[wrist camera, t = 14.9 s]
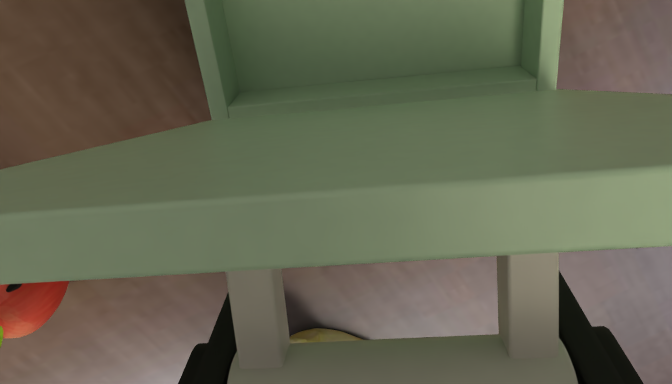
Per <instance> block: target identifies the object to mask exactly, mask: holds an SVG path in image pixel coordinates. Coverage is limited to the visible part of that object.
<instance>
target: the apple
mask: <svg viewBox="0 0 672 384" xmlns="http://www.w3.org/2000/svg"><path fill="white" fill-rule="evenodd" d="M68 284H69V281H55V282H38V283H21V284H3V285H0V347H1V343H2V339H3V338H17V337H22V336H25V335H28V334H30V333H32V332H34V331H36V330H37V329H38V328H40V327H41V326H42V325H43V324H44V323H45V322H46V321H47V320H48V319H49V318H50V317H51V316H52V315H53V313H54V312H55V310H56V309H57V308H58V306H59V304H60V303H61V301H62V299H63V297H64V295H65V292H66V290H67V287H68Z"/></svg>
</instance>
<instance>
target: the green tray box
mask: <svg viewBox="0 0 672 384" xmlns="http://www.w3.org/2000/svg"><path fill="white" fill-rule="evenodd" d="M563 4H564V0H185V5H186V9H187V13H188V18H189V22H190V26H191V31H192V35H193V39H194V44H195V48H196V52H197V57H198V61H199V66H200V70H201V74H202V79H203V83H204V87H205V92H206V96H207V100H208V105H209V109H210V113H211V118H212V120H220V119H232V118H243V117H254V116H265V115H276V114H287V113H299V112H310V111H321V110H332V109H343V108H355V107H366V106H377V105H388V104H399V103H410V102H422V101H433V100H444V99H455V98H466V97H477V96H489V95H500V94H511V93H522V92H533V91H545V90H556V84H557V72H558V61H559V50H560V38H561V27H562V16H563Z"/></svg>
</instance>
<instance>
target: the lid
mask: <svg viewBox="0 0 672 384" xmlns="http://www.w3.org/2000/svg"><path fill="white" fill-rule="evenodd" d="M661 246H672V94H653V93H631V92H608V91H586V90H564V89H556V90H545V91H533V92H522V93H511V94H500V95H489V96H477V97H466V98H455V99H444V100H433V101H422V102H410V103H399V104H388V105H377V106H366V107H355V108H343V109H332V110H321V111H310V112H299V113H287V114H276V115H265V116H254V117H243V118H232V119H220V120H210V121H205V122H201V123H197V124H193V125H188V126H184V127H180V128H176V129H171V130H167V131H163V132H158V133H154V134H150V135H146V136H141V137H137V138H133V139H129V140H124V141H120V142H116V143H111V144H107V145H103V146H99V147H94V148H90V149H86V150H82V151H77V152H73V153H69V154H65V155H60V156H56V157H52V158H47V159H43V160H39V161H35V162H30V163H26V164H22V165H18V166H13V167H9V168H5V169H0V285H3V284H21V283H38V282H55V281H73V280H90V279H107V278H124V277H142V276H159V275H176V274H194V273H211V272H226V278H227V285H228V291H229V298H230V305H231V312H232V319H233V325H234V332H235V339H236V346H237V352H236V354H235V356H234V358H233V361H232V364H231V368H230V371H229V376H228V381H227V384H578V381H577V377H576V374H575V371H574V367H573V365H572V362H571V359H570V357H569V355H568V352H567V350H566V348H565V346H564V345H563V343H562V341H561V340H560V339H559V252H574V251H592V250H609V249H626V248H643V247H661ZM488 256H497V284H498V323H499V334H496V335H472V336H449V337H425V338H401V339H378V340H354V341H331V342H307V343H290V336H289V328H288V320H287V312H286V304H285V295H284V287H283V279H282V271H281V268H297V267H315V266H332V265H349V264H367V263H384V262H401V261H419V260H436V259H453V258H470V257H488Z"/></svg>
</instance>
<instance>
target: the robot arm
mask: <svg viewBox="0 0 672 384" xmlns="http://www.w3.org/2000/svg"><path fill="white" fill-rule="evenodd" d="M559 339H560V340H561V341H562V343H563V345H564V346H565V348H566V350H567V352H568V355H569V357H570V359H571V362H572V365H573V367H574V371H575V374H576V377H577V381H578V384H643V382H642V380H641V379H640V377H639V376H638V374H637V372H636V371H635V369H634V368H633V366H632V364H631V363H630V361H629V360H628V358H627V356H626V355H625V353H624V352H623V350H622V348H621V347H620V345H619V343H618V342H617V340H616V339H615V337H614V335H613V334H612V333H611V332H610V330H609V329H608V328H606V327H604V326H598V327H592V326H591V325H590V323H589V321H588V319H587V318H586V316H585V314H584V313H583V311H582V309H581V307H580V306H579V304H578V302H577V300H576V299H575V297H574V295H573V294H572V292H571V290H570V288H569V287H568V285H567V283H566V282H565V280H564V278H563V276H562V275H561V273H560V271H559ZM236 352H237V346H236V339H235V332H234V325H233V319H232V312H231V305H230V298H229V292H228V294H227V297H226V299H225V302H224V304H223V307H222V309H221V312H220V314H219V317H218V319H217V322H216V324H215V327H214V329H213V332H212V334H211V337H210V339H209V342H208V343H203V344H197V345H196V346H195V347H194V349H193V351H192V353H191V355H190V357H189V360H188V362H187V364H186V367H185V369H184V371H183V374H182V376H181V378H180V381H179V383H178V384H227V381H228V376H229V371H230V368H231V364H232V361H233V358H234V356H235V354H236Z"/></svg>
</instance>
